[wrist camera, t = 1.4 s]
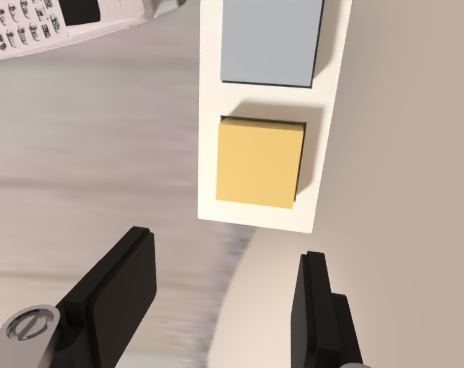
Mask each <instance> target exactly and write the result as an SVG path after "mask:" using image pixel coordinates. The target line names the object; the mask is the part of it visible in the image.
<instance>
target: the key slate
mask: <svg viewBox="0 0 464 368" xmlns="http://www.w3.org/2000/svg"><path fill="white" fill-rule="evenodd" d="M321 6H322V0H223V17H222V44H221V71H220V80H227V81H242V82H257V83H272V84H287V85H301V86H310V83H311V76H312V69H313V62H314V55H315V48H316V41H317V34H318V27H319V20H320V13H321Z"/></svg>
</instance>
